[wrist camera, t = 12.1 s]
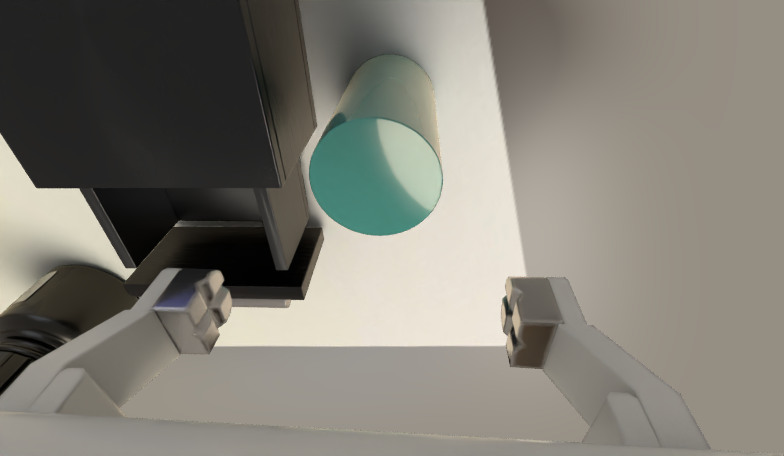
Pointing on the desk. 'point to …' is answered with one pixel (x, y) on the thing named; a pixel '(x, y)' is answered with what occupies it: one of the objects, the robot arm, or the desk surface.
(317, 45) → the desk surface
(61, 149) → the cabinet
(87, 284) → the ink bottle
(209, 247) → the drawer
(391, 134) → the teal cylinder
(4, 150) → the desk surface
